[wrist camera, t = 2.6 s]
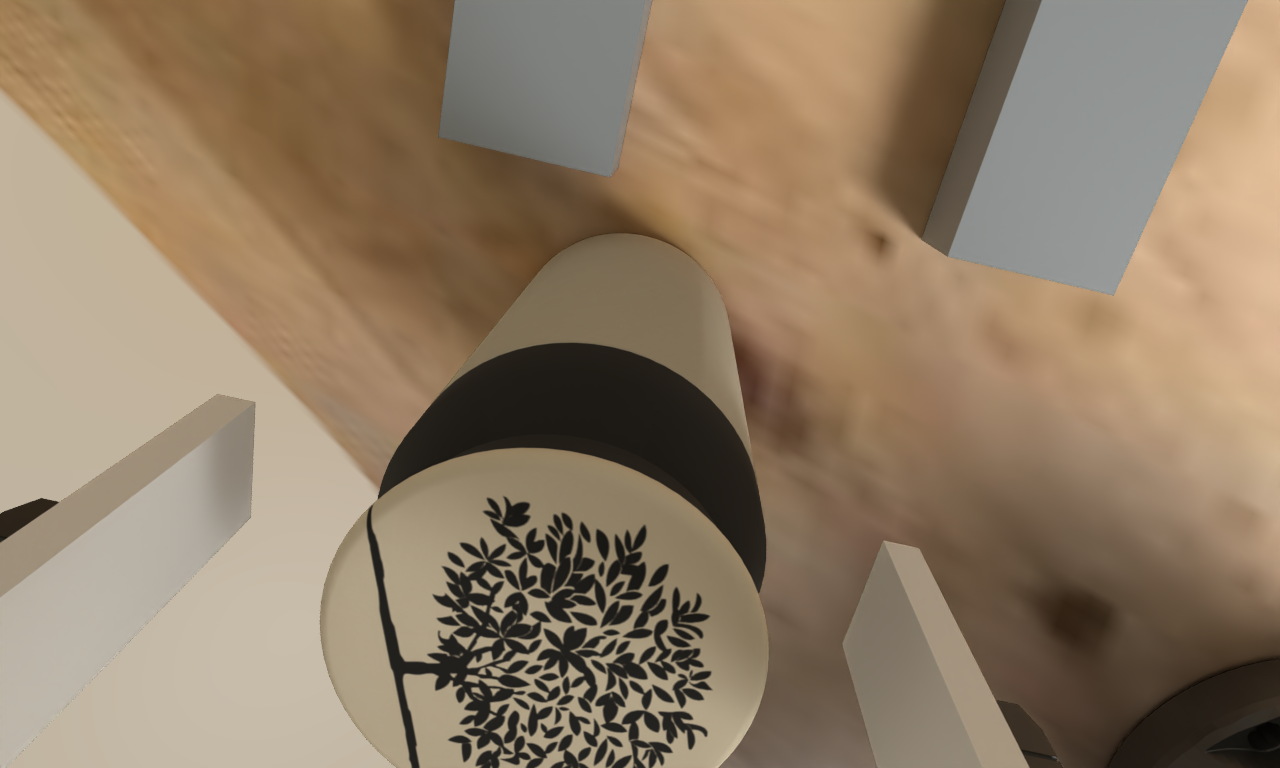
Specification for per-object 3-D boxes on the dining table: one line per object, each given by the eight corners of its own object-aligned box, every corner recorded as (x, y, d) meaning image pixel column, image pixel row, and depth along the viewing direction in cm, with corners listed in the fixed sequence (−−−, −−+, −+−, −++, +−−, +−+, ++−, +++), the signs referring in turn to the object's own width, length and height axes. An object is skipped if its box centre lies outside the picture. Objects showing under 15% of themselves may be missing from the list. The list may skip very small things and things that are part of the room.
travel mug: (744, 244, 28) (827, 475, 11) (714, 444, 31) (746, 866, 14) (524, 219, 28) (285, 413, 11) (515, 421, 31) (312, 811, 14)
